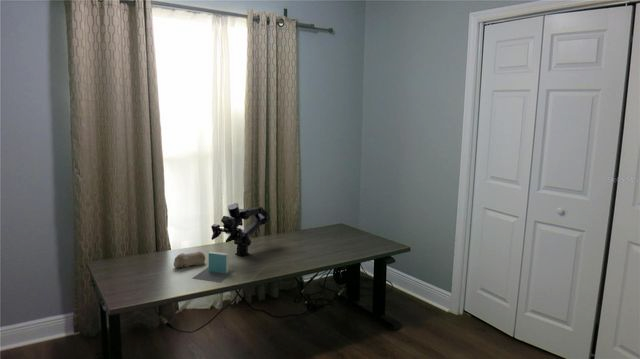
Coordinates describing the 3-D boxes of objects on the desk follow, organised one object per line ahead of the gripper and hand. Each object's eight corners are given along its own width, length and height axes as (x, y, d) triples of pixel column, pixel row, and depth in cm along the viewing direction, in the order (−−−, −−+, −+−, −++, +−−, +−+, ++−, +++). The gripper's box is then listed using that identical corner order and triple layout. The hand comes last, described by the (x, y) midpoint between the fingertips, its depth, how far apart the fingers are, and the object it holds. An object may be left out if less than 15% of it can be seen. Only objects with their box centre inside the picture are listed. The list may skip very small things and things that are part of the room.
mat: (208, 267, 243) (208, 266, 243) (235, 271, 240) (235, 270, 239) (191, 279, 226) (191, 278, 226) (220, 283, 222) (220, 282, 222)
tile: (211, 269, 240) (211, 251, 238) (228, 271, 237) (228, 253, 236) (208, 271, 237) (208, 253, 235) (225, 273, 234) (226, 255, 233)
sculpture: (170, 260, 244) (174, 250, 237) (200, 254, 254) (204, 244, 248) (174, 273, 240) (178, 264, 233) (205, 267, 250) (209, 258, 244)
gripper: (217, 210, 255) (201, 226, 243) (244, 214, 248) (229, 231, 236) (221, 225, 261) (206, 242, 249) (248, 230, 254) (234, 247, 242)
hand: (218, 240), depth 244 cm, fingers open, 9 cm apart
